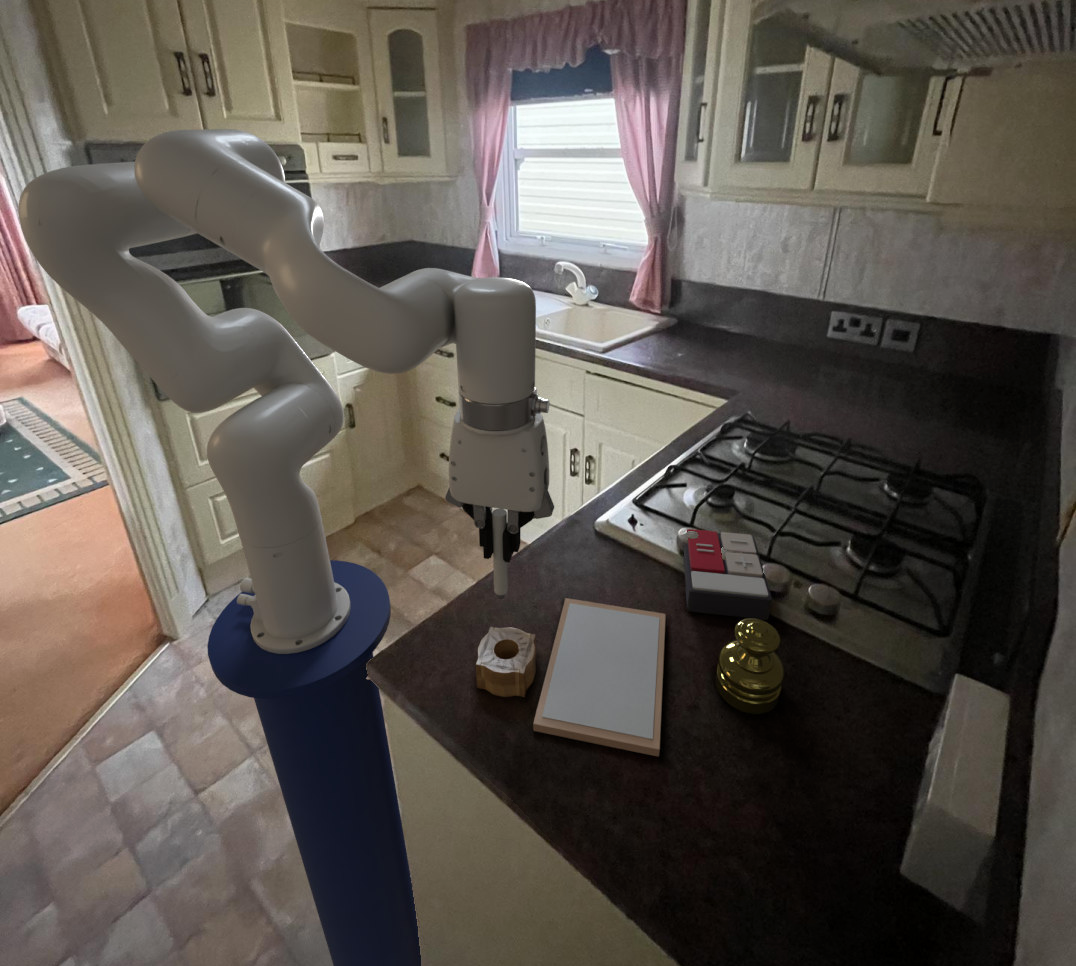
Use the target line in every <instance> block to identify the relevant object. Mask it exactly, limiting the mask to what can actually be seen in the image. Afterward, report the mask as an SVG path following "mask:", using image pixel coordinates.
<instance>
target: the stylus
mask: <svg viewBox="0 0 1076 966" xmlns="http://www.w3.org/2000/svg"><path fill="white" fill-rule="evenodd" d="M507 514H508V511H507V509H500V508H494V509H493V510H492V530H493V554H492V561H493V562H492V563H493V565H492V566H493V592H494V593H495V594H496V595H497V599H499V600H503V599H504V598H505V596H506V594H507V593H508V592H509V575H508V570H509V569H508V562H505V561H504V560H503V532H504V530H505V527H506V524H507Z"/></svg>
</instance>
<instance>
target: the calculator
mask: <svg viewBox="0 0 1076 966" xmlns="http://www.w3.org/2000/svg"><path fill="white" fill-rule="evenodd" d="M686 530H687V532H688V531H695V532H697V533H698V535H699V536H698V538H696V539H695V538H694V539H690V538H688V545H687V544H685V548H684V557H683V556H682V564H683V572H684V573H683V574H684V581H685V601H686V609H687V611H688V612H691V613H692V612H693V613H700V614H709V615H718V616H725V617H726V616H727V617H734V618H735V617H736V618H743V619H747V618H755V619H759V620H763V621H767V620H769V617H770V612H771V608H772V603H773V598H772V593H771V590H770V587H769V584H768V580H767V576H766V573H765V572H764V573H765V574H764V573H763V569H764V566H763V563H762V560H761V555H760V552H759V549H758V547H757V542H756V540H755V537H754V536H753V535H751V534H747V533H736V532H726V531H722V532H720V533H719V532H717V531H714V530H704V529H692V528H687V529H686ZM722 547H723V548H724V550H727V551H734V552H735V551H736V552H742V553H733V552H725V557H726V560H723V559H722V553H721V548H722Z"/></svg>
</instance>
